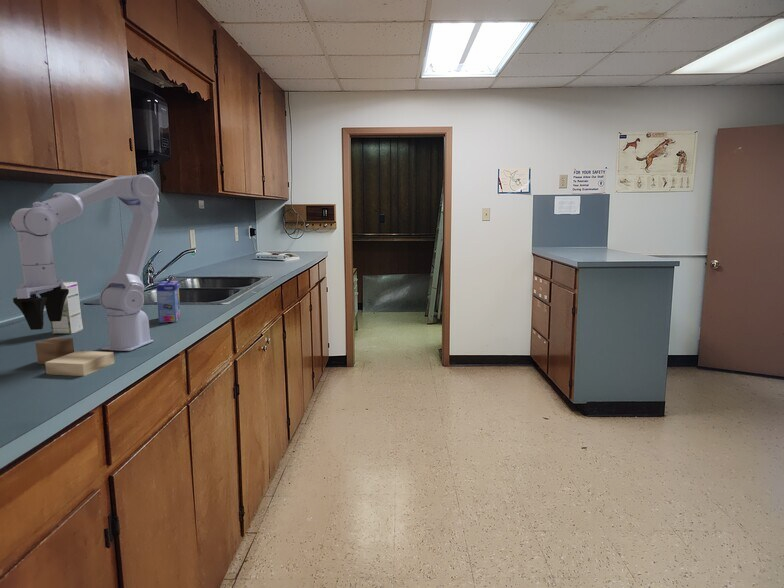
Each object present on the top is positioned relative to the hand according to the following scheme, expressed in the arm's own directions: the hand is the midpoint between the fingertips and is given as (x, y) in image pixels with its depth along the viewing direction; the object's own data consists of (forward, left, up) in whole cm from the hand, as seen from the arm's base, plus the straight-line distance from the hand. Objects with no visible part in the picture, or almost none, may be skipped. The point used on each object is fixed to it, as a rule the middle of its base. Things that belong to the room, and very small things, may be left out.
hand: (46, 325), depth 106 cm
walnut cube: (-4, -2, -10) cm, 10 cm away
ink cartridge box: (-48, -2, -10) cm, 49 cm away
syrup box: (-29, -22, -10) cm, 37 cm away
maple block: (0, +8, -10) cm, 13 cm away
